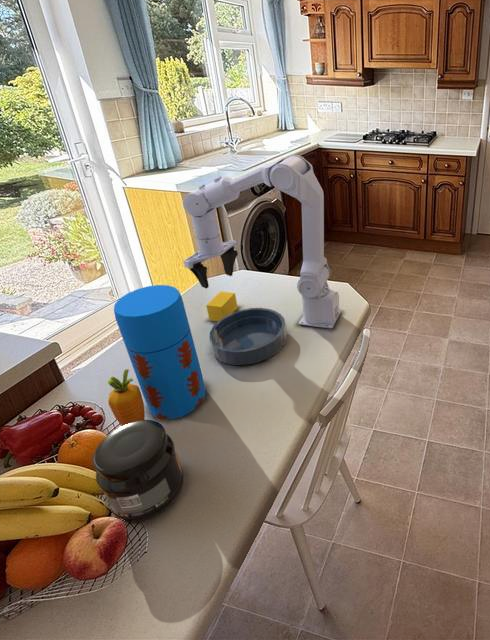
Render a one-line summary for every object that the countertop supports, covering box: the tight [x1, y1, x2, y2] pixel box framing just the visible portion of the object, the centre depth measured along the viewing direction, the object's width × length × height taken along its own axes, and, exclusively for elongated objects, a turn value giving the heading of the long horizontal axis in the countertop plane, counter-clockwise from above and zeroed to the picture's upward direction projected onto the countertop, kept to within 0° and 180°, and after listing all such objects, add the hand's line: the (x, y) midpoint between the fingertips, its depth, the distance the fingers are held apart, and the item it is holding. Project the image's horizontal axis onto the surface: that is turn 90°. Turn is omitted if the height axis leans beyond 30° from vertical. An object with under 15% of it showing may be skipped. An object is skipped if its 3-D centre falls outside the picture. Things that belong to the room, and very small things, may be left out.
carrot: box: [107, 368, 146, 427], centre depth 74 cm, size 5×5×15 cm
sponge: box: [205, 291, 239, 322], centre depth 111 cm, size 4×7×5 cm, turn 171°
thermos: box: [113, 284, 206, 421], centre depth 79 cm, size 11×11×25 cm
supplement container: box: [92, 419, 184, 523], centre depth 65 cm, size 10×10×12 cm
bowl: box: [209, 307, 288, 366], centre depth 101 cm, size 18×18×4 cm
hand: (217, 280), depth 110 cm, fingers open, 7 cm apart
